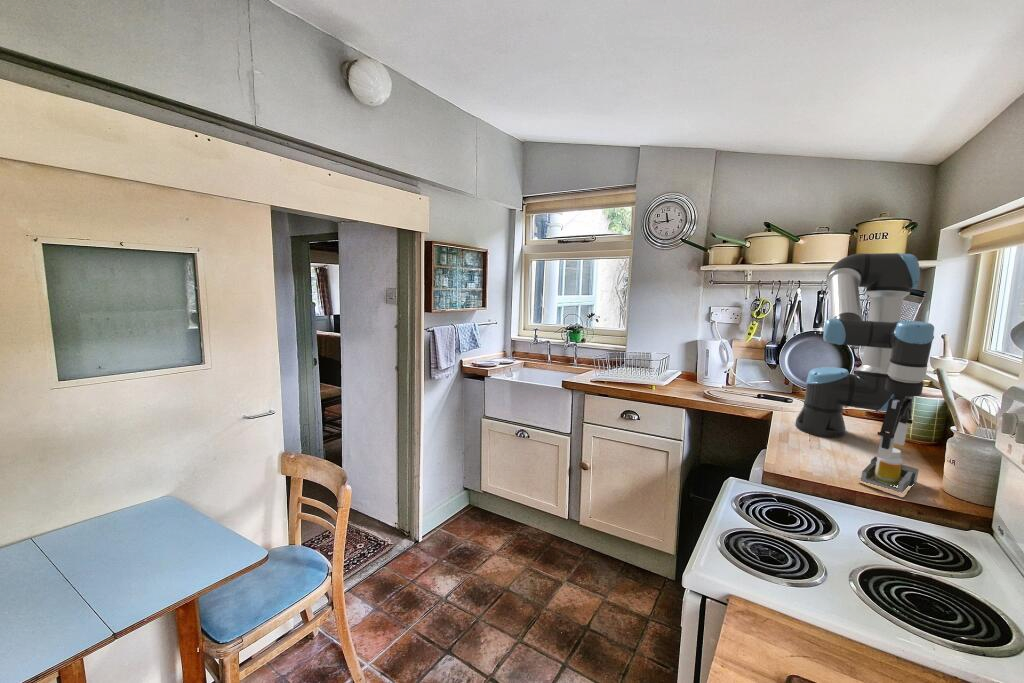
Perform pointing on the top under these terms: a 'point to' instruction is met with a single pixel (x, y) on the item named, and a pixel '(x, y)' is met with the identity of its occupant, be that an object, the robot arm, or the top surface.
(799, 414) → the robot arm
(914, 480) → the tray
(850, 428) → the top surface
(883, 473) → the supplement bottle
